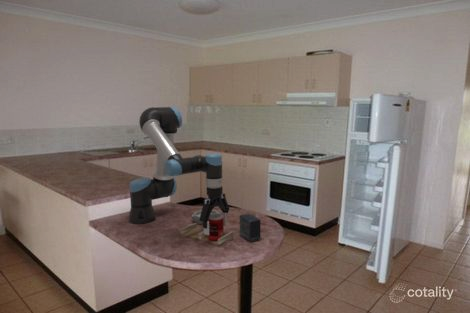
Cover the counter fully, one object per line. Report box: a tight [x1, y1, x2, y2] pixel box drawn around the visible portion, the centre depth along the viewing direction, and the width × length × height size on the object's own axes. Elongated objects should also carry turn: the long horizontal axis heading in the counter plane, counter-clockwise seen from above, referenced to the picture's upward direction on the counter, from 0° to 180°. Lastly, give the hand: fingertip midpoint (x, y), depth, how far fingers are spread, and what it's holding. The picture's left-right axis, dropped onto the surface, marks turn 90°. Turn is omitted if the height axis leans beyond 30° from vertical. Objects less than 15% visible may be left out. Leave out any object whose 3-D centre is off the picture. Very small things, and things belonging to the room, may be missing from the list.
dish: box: [191, 209, 221, 225], centre depth 186 cm, size 14×14×5 cm
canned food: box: [208, 213, 224, 241], centre depth 158 cm, size 8×8×11 cm
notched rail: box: [180, 222, 234, 248], centre depth 162 cm, size 24×11×4 cm, turn 56°
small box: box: [239, 213, 261, 243], centre depth 161 cm, size 11×6×10 cm, turn 28°
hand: (215, 229), depth 158 cm, fingers open, 13 cm apart
